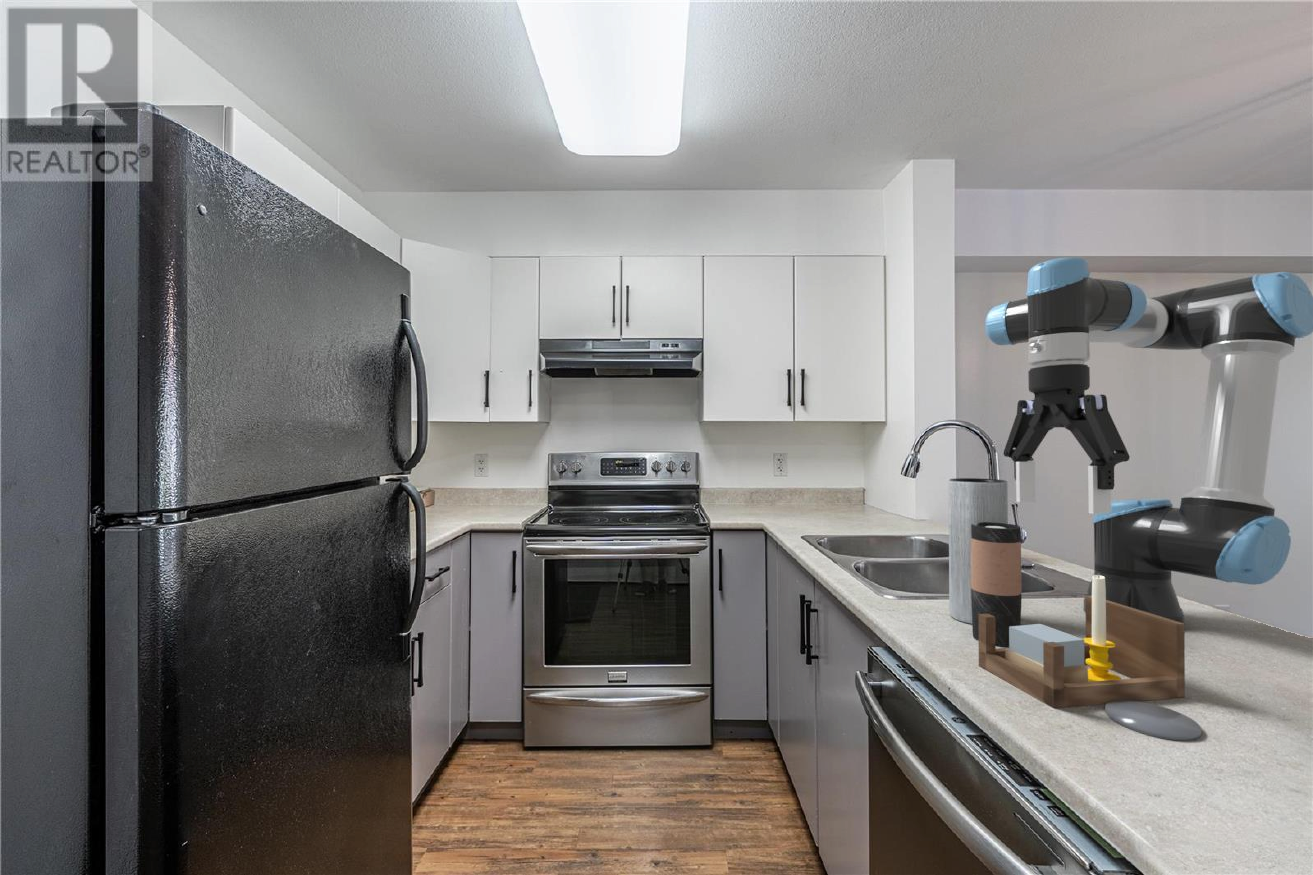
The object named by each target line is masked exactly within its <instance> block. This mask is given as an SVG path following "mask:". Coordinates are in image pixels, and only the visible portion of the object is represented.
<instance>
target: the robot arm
mask: <svg viewBox="0 0 1313 875" xmlns="http://www.w3.org/2000/svg"><path fill="white" fill-rule="evenodd" d="M1090 274H1091V272H1090V270H1089V264H1088V262H1087V260H1086V259H1085V258H1082V257H1076V256H1075V257H1072V256H1071V257H1061V258H1054V259H1050V260H1046V261H1043V262H1040V263H1037V264H1035V265H1034V266H1032V267H1031V268H1030V269H1029V270H1028V274H1027V275H1028V276H1027V290H1026V293H1025V295H1026V298H1023V299H1018V300H1014V301H1012V300H1011V301H1010V300H1009V301H1007V302H1005V303H1002V304H999V305H995V306H994V307H993V308H991V309H990V310H989V311H988V313H987V314H986V317H985V332H986V335H987V338H989V340H990V341H991V342H992V343H994V344H996V345H997V346H1009V345H1010V346H1015V345H1017V344H1022V343H1028V365H1030V366H1033V367H1032V368H1030V369H1029V370H1028V371H1027V372H1028V373H1027V374H1028V391H1029V392H1030V393H1033V395H1034V398H1033V399H1023V400H1021V399H1020V400H1018V401H1017V406H1016V407H1017V408H1016V416H1015V417H1014V421H1013V424H1012V427H1011V429H1010V432H1009V436H1008V437H1007V441H1006V444H1005V447H1004V449H1003V456H1004V457H1006V458H1010V459H1011V460H1012V461H1013V464H1014V465H1013V466H1014V467H1013V468H1014V471H1013V472H1014V476H1013V478H1014V480H1015V488H1016V489H1015V490H1016V492H1015V495H1016V497H1015V499H1016V501H1015V502H1017V503H1036V474H1035V473H1036V465H1035V464H1036V463H1035V459H1034V457H1033V455H1035V452H1036V450H1038V448H1039V446H1040V445H1041V443H1042V442H1043V440H1044V439H1045V437H1046V435H1047V434H1048V432H1049V431H1051V430H1053V429H1054V428H1065V430H1068V431H1069V432H1071V434H1072V435H1073V437H1074V438H1075V440H1076V441H1077V442H1078V443H1079V445H1080V447H1081V448H1082V450H1084V452H1085V453H1086V455H1087V456H1088V458H1089V459H1090V461H1091V462H1090V464H1089V465H1088V466H1087V471H1088V472H1087V473H1088V474H1087V475H1088V476H1087V479H1088V480H1087V482H1088V483H1087V484H1088V488H1087V490H1088V494H1087V495H1088V514H1092V515H1093V521H1092V525H1093V552H1094V553H1093V556H1094V558H1093V561H1094V566H1093V567H1094V569H1093V570H1094V571H1093V572H1094V573H1093V575H1098V573H1099V575H1101V576H1104V577H1105V586H1106V600H1108V601H1111V602H1115V603H1118V604H1121V605H1125V606H1128V607H1131V608H1134V609H1138V610H1141V611H1144V612H1148V613H1151V614H1154V615H1157V616H1161V617H1164V618H1167V619H1170V620H1174V621H1177V622H1180V623H1184V624H1185V613H1184V610H1183V609H1182V608H1181V605H1180V602H1179V599H1178V596H1177V593H1176V590H1175V588H1174V586H1173V581H1172V572H1176V573H1181V574H1185V575H1191V576H1197V577H1202V578H1208V579H1212V580H1218V581H1220V582H1225V583H1237V584H1243V585H1252V586H1253V585H1254V586H1255V585H1260V584H1261V585H1263V584H1264V583H1268V582H1269V581H1271V580H1273V579H1274V578H1275V576H1276V575H1278V574H1279V573H1280V572H1281V571H1282V569H1283V567H1284V566H1285V564H1286V561H1287V559H1288V556H1289V553H1290V549H1291V544H1292V542H1291V535H1289V534H1290V527H1289V526H1288V524H1287V523H1286V521H1285V520H1283V519H1282V518H1280V517H1277V516H1275V511H1276V507H1275V506H1274V505H1272V504H1271V502H1269V501H1268V500H1267V499H1266V498H1265V497H1264V493H1265V483H1266V478H1267V466H1268V461H1269V460H1268V459H1269V450H1270V443H1271V436H1272V435H1271V434H1272V427H1273V419H1274V410H1275V401H1276V394H1277V384H1278V377H1279V368H1280V362H1281V360H1283V359H1284V358H1286V357H1287V356H1289V355H1291V354H1293V352H1295V351H1294V350H1295V344H1296V343H1295V342H1296V339H1301V338H1302V339H1303V338H1304V337H1308V336H1311V335H1312V334H1313V295H1312V292H1311V290H1310V287H1308V286H1309V285H1307V284H1306V282H1305V281H1304V279H1302V277H1300V275H1299V276H1298V275H1297V274H1296V273H1293V272H1290V271H1278V272H1271V273H1264V274H1257V273H1256V274H1255V275H1253V276H1249V277H1243V278H1239V279H1234V280H1233V279H1232V280H1229V281H1224V282H1219V283H1215V284H1214V283H1213V284H1209V285H1205V286H1199V287H1194V288H1193V287H1192V288H1188V289H1184V290H1180V291H1176V292H1172V293H1168V294H1167V293H1166V294H1164V295H1160V296H1159V295H1158V296H1154V297H1147V296H1146V294H1145V292H1144V290H1142V289H1141V287H1140V286H1138V285H1136V284H1133V283H1130V282H1126V281H1123V280H1119V279H1115V280H1111V279H1102V278H1093V277H1090ZM1090 343H1119V344H1121V345H1122V346H1124V347H1126V348H1127V347H1128V348H1133V349H1153V350H1172V351H1173V350H1175V351H1176V350H1177V351H1184V350H1185V351H1189V350H1190V351H1191V350H1200V354H1201V355H1202V356H1203V357H1205V358H1206V359H1208V360H1209V362H1210V367H1209V373H1208V381H1207V387H1206V389H1207V390H1206V393H1205V394H1206V396H1205V403H1204V410H1203V411H1204V412H1203V418H1202V426H1201V434H1200V442H1199V449H1198V456H1197V464H1196V473H1195V479H1194V488H1193V489H1191V491H1189V492H1187V493H1185V494H1183V495H1181V498H1180V499H1181V500H1180V506H1179V508H1178V507H1173V503H1172V501H1171V500H1170V499H1168V498H1145V499H1118V500H1112V490H1114V488H1115V467H1116V466H1117V464H1120V463H1123V462H1124V463H1125V462H1128V461H1130V455H1129V452H1128V450H1127V447H1126V445H1125V443H1124V441H1123V439H1122V437H1121V435H1120V433H1119V430H1118V428H1117V426H1116V424H1115V422H1114V420H1113V417H1112V415H1111V413H1110V411H1109V408H1108V406H1109V405H1108V399H1107V398H1108V397H1107V395H1105V394H1085V391H1087V390H1089V389H1090V387H1091V385H1090V384H1091V375H1090V374H1091V373H1090V368H1091V367H1090V366H1088V364H1086V363H1087V362H1088V361H1090V360H1091V358H1090V351H1091V350H1090ZM1086 596H1092V580H1090V584H1089V586H1088V590H1087V593H1086V595H1084V598H1083V612H1085V613H1086Z"/></svg>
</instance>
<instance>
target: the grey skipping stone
mask: <svg viewBox="0 0 1313 875" xmlns="http://www.w3.org/2000/svg"><path fill="white" fill-rule="evenodd" d="M1104 711H1105V714H1106V716H1107V717H1108V718H1109V719H1110V720H1112V721H1113V722H1115V723H1117V724H1118V725H1120V726H1122V727H1125V728H1127V729H1129V730H1131V731H1134V732H1137V733H1140V734H1144V735H1147V736H1150V737H1154V738H1159V739H1164V740H1165V739H1166V740H1171V741H1180V742H1181V741H1183V742H1184V741H1194V740H1197V739H1200V737H1201V735H1202V727H1201V725H1200V724H1199V723H1198V722H1197V721H1195V720H1194V719H1193V718H1191V717H1189V716H1187V715H1185V714H1183V713H1180V712H1178V711H1176V710H1174V709H1170V708H1167V707H1164V706H1160V705H1158V704H1154V703H1149V702H1145V701H1130V700H1116V701H1111V702H1108V703H1107V704H1105V710H1104Z"/></svg>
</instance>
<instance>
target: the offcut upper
mask: <svg viewBox="0 0 1313 875" xmlns="http://www.w3.org/2000/svg"><path fill="white" fill-rule="evenodd" d="M1043 642H1056V643H1058V644H1060V645H1063V646H1064V667H1069V666H1077V665H1085V662H1084V643H1085V642H1084V638H1081V637H1078V636H1075V635H1073V634H1070V633H1067V632H1064V631H1062V630H1059V629H1056V628H1054V627H1051V626H1048V625H1045V624H1042V623H1034V624H1033V623H1032V624H1023V625H1022V624H1021V626H1011V627H1009V647H1008V648H1009V650H1010V651H1012V652H1015V653H1017V654H1019V655H1022V656H1024V657H1026V658H1028V659H1031V660H1033V661H1035V662H1037V663H1040V664H1042V665H1043Z"/></svg>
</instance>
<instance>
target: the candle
mask: <svg viewBox="0 0 1313 875" xmlns="http://www.w3.org/2000/svg"><path fill="white" fill-rule="evenodd" d="M1091 578H1092V579H1091V581H1092V638H1086V637H1084V638H1083V639H1084V643H1087V644H1089V645H1090V651H1089V652H1090V658H1088V659H1086V662H1085V664H1086V666H1088V682H1093V681H1106V680H1120V679H1122V678H1121V677H1120V675H1119V676H1118V675H1117V674H1114V673H1112V672H1109V671H1108V670H1111V669H1112V668H1113V664H1112V663H1110V662H1108V657H1109V654H1108V650H1109V648H1113V647H1116V644H1114V643H1113V642H1110V641H1107V640H1106V586H1105V577H1104V576H1101V575H1099V573H1098V575H1094V574H1093V575H1092V576H1091ZM1089 666H1090V667H1089Z"/></svg>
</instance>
